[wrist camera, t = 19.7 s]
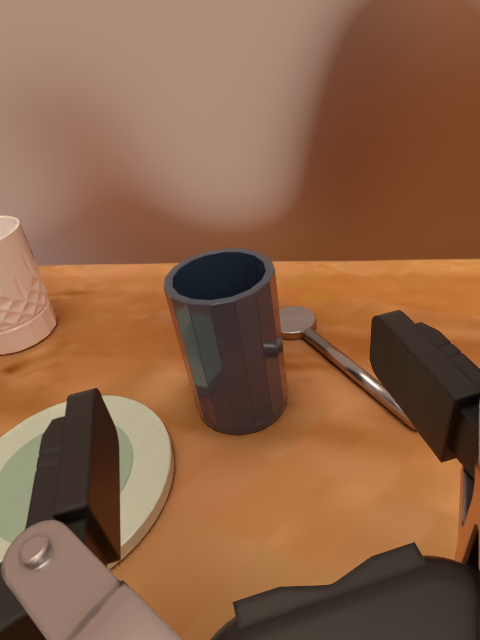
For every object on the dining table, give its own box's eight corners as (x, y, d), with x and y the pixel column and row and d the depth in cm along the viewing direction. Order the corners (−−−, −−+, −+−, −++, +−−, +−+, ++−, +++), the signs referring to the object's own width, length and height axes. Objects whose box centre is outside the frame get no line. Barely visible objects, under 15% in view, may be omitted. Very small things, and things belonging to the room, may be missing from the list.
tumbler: (222, 450, 27) (189, 319, 21) (184, 392, 31) (149, 271, 26) (305, 406, 29) (295, 275, 23) (258, 357, 33) (240, 238, 28)
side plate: (-52, 665, 19) (-65, 656, 19) (-45, 460, 29) (-54, 450, 28) (209, 514, 23) (206, 502, 23) (138, 379, 33) (134, 369, 33)
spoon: (397, 447, 25) (398, 435, 25) (261, 323, 37) (260, 314, 36) (444, 417, 26) (446, 406, 26) (298, 307, 38) (297, 297, 38)
